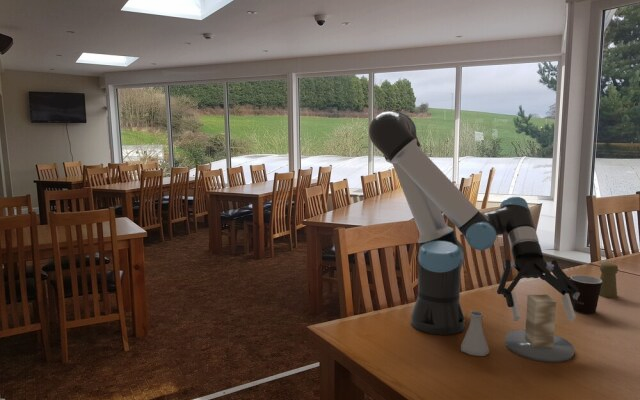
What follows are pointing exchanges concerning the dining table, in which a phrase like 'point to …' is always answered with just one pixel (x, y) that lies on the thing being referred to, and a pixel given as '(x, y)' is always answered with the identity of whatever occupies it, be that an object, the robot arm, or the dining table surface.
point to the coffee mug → (586, 293)
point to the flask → (475, 337)
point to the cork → (608, 280)
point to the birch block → (540, 320)
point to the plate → (539, 348)
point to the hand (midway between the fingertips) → (544, 319)
